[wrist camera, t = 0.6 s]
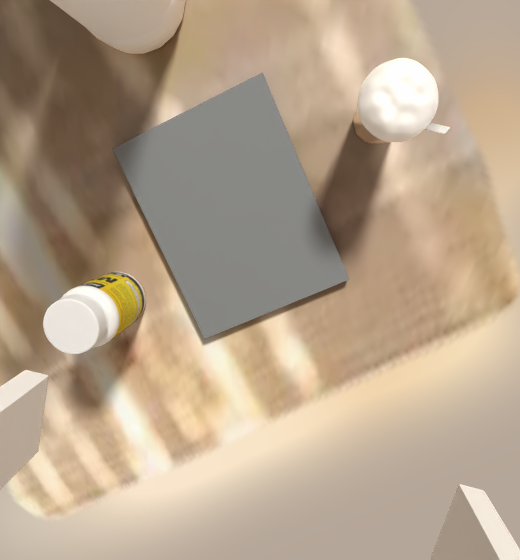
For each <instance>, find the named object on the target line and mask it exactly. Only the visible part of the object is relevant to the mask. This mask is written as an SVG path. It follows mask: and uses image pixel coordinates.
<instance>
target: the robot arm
mask: <svg viewBox="0 0 520 560" xmlns="http://www.w3.org/2000/svg"><path fill="white" fill-rule="evenodd" d="M48 378H49V376H48V375H44V374H40V373H36V372H33V371H29V370H24V371H23V372H21V373H20V374H18V375H17V376H15V377H14V378H12V379H11V380H9V381H8V382H6V383H5V384H3V385H2V386H0V489H1V488H2V487H3V486H4V485H5V484H6V483H7V482H8V481H9V480H10V479H11V478H12V477H13V476H14V475H15V474H16V473H17V472H18V471H19V470H20V469H21V468H22V467H23V466H24V465H25V464H26V463H27V462H28V461H29V460H30V459H31V458H32V457H33V456H34V455H35V454H36V453H37V452H38V449H39V442H40V435H41V427H42V420H43V413H44V406H45V399H46V392H47V385H48ZM431 560H520V549H519V548H518V546H517V544H516V543H515V541H514V539H513V538H512V536H511V534H510V533H509V531H508V529H507V528H506V526H505V525H504V523H503V521H502V520H501V518H500V517H499V515H498V513H497V511H496V510H495V508H494V506H493V505H492V503H491V502H490V500H489V498H488V497H487V495H486V493H485V492H484V491H483V490H480V489H476V488H472V487H468V486H465V485H461V484H459V486H458V488H457V491H456V493H455V496H454V499H453V501H452V503H451V506H450V509H449V511H448V514H447V516H446V519H445V522H444V524H443V527H442V529H441V532H440V534H439V537H438V540H437V542H436V545H435V547H434V550H433V552H432V555H431Z"/></svg>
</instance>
